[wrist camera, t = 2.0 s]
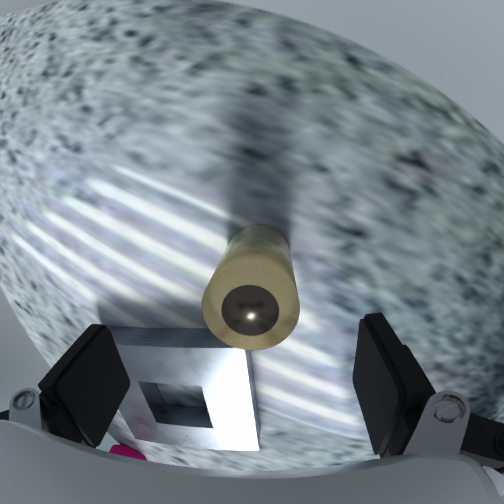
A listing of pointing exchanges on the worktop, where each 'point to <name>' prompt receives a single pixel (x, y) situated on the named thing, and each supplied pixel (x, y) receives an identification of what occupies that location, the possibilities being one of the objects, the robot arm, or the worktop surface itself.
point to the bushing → (253, 291)
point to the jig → (188, 373)
